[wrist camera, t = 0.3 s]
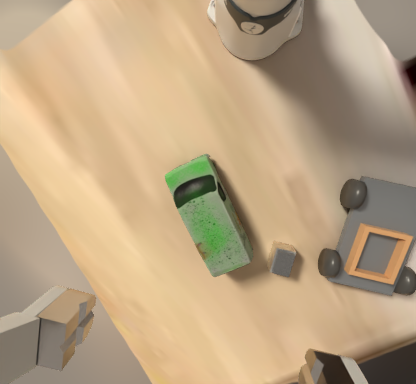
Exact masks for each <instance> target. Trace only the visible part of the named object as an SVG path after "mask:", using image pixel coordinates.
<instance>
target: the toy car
mask: <svg viewBox="0 0 416 384" xmlns="http://www.w3.org/2000/svg"><path fill="white" fill-rule="evenodd" d="M209 157H210V156H209V155H208V154H204V155H202V156H200V157H197V158H195V159H193V160H191V161H190V162H188V163H186V164H184V165H181V166H179V167H177V168H175V169H174V170H172V171H171V172H169V173H167V174H166V175H165V180H166V182H167V185H168V187H169V189H170V191H171V193H172V196H173V199H174V202H175V205H176V207H177V209H178V211H179V213H180V215H181V217H182V220H183V222H184V224H185V226H186V228H187V229H188V231H189V233H190V235H191V237H192V239H193V241H194V243H195V245H196V247H197V249H198V251H199V253H200V255H201V257H202V259H203V260H204V262H205V264H206V266H207V268H208V269H209V271H210V273H211V275H212V276H213V277H217V276H220V275H222V274H225V273H227V272H230V271H232V270H235V269H237V268H240V267H243V266H245V265H247V264H249V263H250V262H251V261H252V258H253V251H252V250H253V249H252V247H251V244H250V242H249V239H248V237H247V235H246V233H245V231H244V228H243V226H242V224H241V221H240V219H239V217H238V215H237V213H236V211H235V209H234V207H233V205H232V203H231V201H230V199H229V196H228V194H227V192H226V190H225V188H224V186H223V184H222V182H221V181H220V179H219V177H218V174H217V171H216V169H215V165H214V164H213V163H212V162H211V160H210V158H209Z"/></svg>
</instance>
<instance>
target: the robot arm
mask: <svg viewBox="0 0 416 384" xmlns="http://www.w3.org/2000/svg"><path fill="white" fill-rule="evenodd" d="M214 5H215V8H214ZM303 9H304V0H211V2H210V4H209V7H208V11H207V15H208V18H209V20H210V21H211V22H212V23H213V24H214V25H215V26H216V28H217V30H218V32H219V35H220V38H221V40H222V42H223V44H224V46H225V47H226V48H227V49H228V50H229V51H230V52H231V53H232V54H233V55H235V56H237V57H239V58H241V59H245V60H259V59H263V58H265V57H267V56H269V55H271V54H272V53H274V52H275V51H276V50H277V49H278V48H279V47H280V46H281V45H282V44H283V43H284V42H286V41H288V40H290V39H292V38H294V37H296V36H297V35H299V33H300V32H301V29H302V21H303ZM296 22H297V24H296ZM95 303H96V297H95V295H92V294H88V293H85V292H81V291H77V290H74V289H69V288H65V287H62V286H54V287H52V288H51V289H50V290H49V291H47V292H46V293H45V294H44V295H42V296H41V297H40V298H39V299H37V300H36V301H35V302H34V303H33V304H31V305H30V306H29V307H28V308H26V309H25V310H24V311H23V312H21V313H18V312H15V313H13V314H9V315H6V316H3V317H1V318H0V384H9V383H11V382H12V381H14V380H15V379H17V378H19V377H20V376H22V375H24V374H25V373H27V372H29V371H30V370H32V369H33V368H35V367H36V365H38V366H42V367H46V368H51V369H55V370H60V371H62V369H63V368H64V367H65V365H66V364H67V363H68V361H69V360H70V359H71V357H72V356H73V355H74V352H75V346H77V345H79V344H81V343H82V342H83V341H84V340H85V338H86V337H87V335H88V333H89V331H90V329H91V326H92V323H93V318H94V314H93V312H92V311H91V310H92V308H93V307H94V306H95ZM305 359H306V362H307V364H305V365H304V366H302V367H301V369H300V372H299V379H298V384H368V382H367V381H366V379H365V377H364V375H363V374H362V372H361V370H360V369H359V367H358V365H357V364H356V362H355V361H354V360H353V359H352V358H350V357H345V356H341V355H335V354H331V353H326V352H322V351H318V350H314V349H309V350H308V351H307V352H306V355H305Z"/></svg>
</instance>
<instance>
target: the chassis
mask: <svg viewBox="0 0 416 384" xmlns="http://www.w3.org/2000/svg"><path fill="white" fill-rule="evenodd" d="M340 202H341V205H342V206H343V207H346V208H350V210H349V213H348V216H347V219H346V222H345V225H344V228H343V230H342V233H341V236H340V239H339V242H338V245H337V248H336V250H331V249H327V248H325V249H323V250H322V251H321V253H320V256H319V260H318V269H319V272H320V274H321V275H322V276H326V278H327V279H328V281H331V282H335V283H339V284H344V285H348V286H352V287H356V288H361V289H365V290H369V291H374V292H378V293H382V294H386V295H391V296H392V293H393V292H395V293H399V294H403V295H411V294H412V293H414V292H415V290H416V274H415V272H414V271H413V270H412V269H411V268H409V267H405V266H404V265H405V263H406V260H407V258H408V256H409V253H410V251H411V248H412V246H413V244H414V241H415V239H416V188H415V187H410V186H405V185H401V184H396V183H392V182H387V181H382V180H378V179H373V178H369V177H364V176H361V179H360V181H359V180H354V179H350V180H348V181H347V182H346V183H345V184H344V186H343V188H342V190H341V194H340Z"/></svg>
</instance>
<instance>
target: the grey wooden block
mask: <svg viewBox="0 0 416 384" xmlns="http://www.w3.org/2000/svg"><path fill="white" fill-rule="evenodd" d="M296 253H297V252H296V251H295V249H294V248H293V246H292V245H289V244H285V243H280V242H276V241H273V244H272V248H271V251H270V255H269V258H268V262H267V265H268V268H269V272H272V273H274V274H278V275H282V276H287V277H289V275H290V272H291V269H292V265H293V262H294V259H295V256H296Z"/></svg>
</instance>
